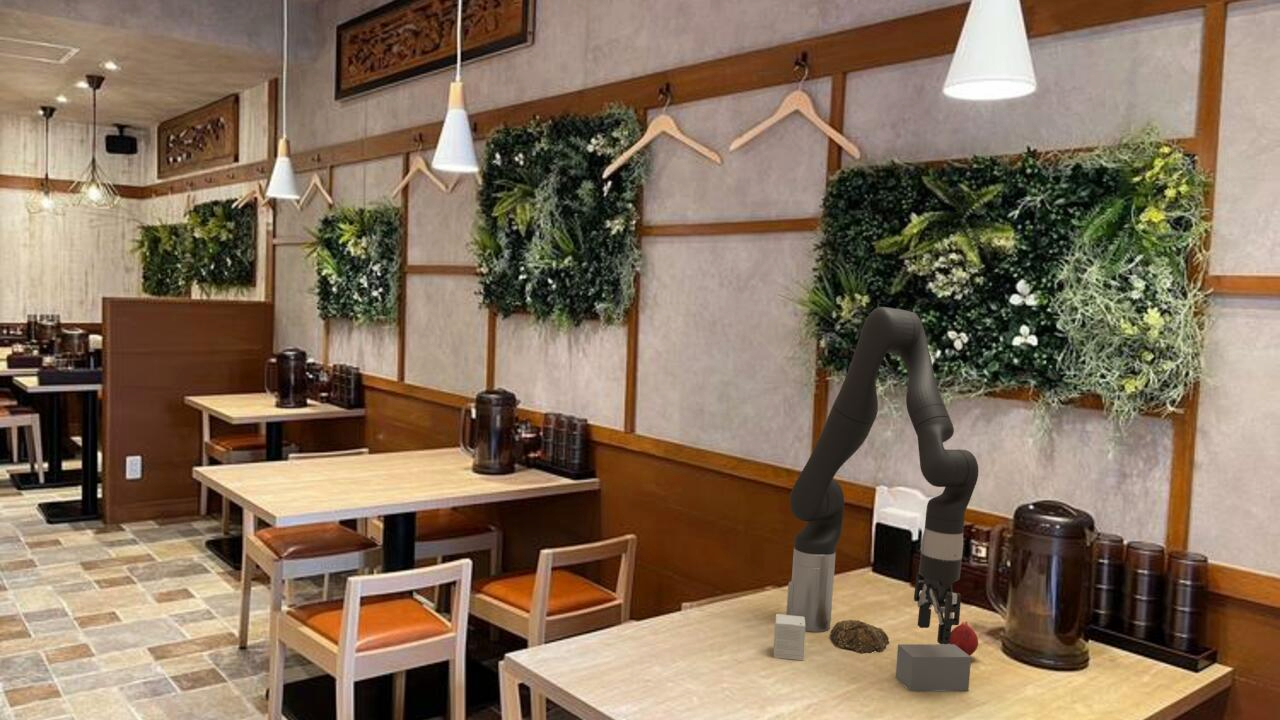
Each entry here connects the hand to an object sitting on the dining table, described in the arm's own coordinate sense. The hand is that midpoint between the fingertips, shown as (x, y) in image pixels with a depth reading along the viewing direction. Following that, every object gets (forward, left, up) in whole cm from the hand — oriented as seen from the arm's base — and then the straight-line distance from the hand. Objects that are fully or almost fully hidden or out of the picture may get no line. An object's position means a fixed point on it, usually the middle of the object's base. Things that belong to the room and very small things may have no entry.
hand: (933, 635), depth 184 cm
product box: (-28, -2, -10) cm, 30 cm away
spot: (0, 0, -10) cm, 10 cm away
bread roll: (-18, +14, -10) cm, 25 cm away
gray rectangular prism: (0, 0, -10) cm, 10 cm away
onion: (+3, +18, -10) cm, 21 cm away
